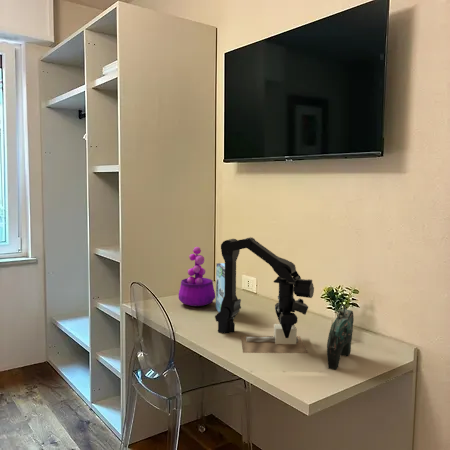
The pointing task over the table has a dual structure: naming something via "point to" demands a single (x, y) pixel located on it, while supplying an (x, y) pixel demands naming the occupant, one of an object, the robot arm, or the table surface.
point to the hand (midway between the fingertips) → (285, 333)
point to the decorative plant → (196, 284)
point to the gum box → (220, 284)
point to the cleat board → (270, 345)
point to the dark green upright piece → (340, 337)
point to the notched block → (281, 337)
